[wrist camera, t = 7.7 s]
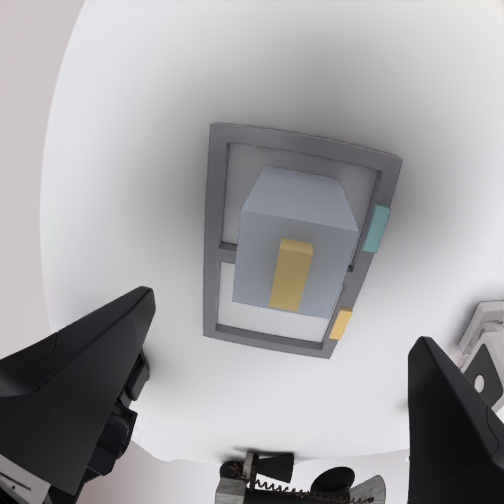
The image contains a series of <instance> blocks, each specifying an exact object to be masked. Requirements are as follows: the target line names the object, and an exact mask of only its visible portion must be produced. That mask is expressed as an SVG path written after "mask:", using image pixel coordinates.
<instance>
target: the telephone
mask: <svg viewBox="0 0 504 504" xmlns="http://www.w3.org/2000/svg"><path fill="white" fill-rule="evenodd" d="M293 465H294V455H293V454H292V455H285V456H278V457H271V458H263V459H259V455H258V454H254V453H253V452H247V454H246V458H245V462H244V463H243V461H241V462H237V461H229V462H226V463H224V464H223V465H222V466H221V467H220V482H219V485H218V487H217V490H216V494H215V504H385V499H386V488H385V483H384V480H383V478H382V477H381V476H380V475H376V476H374V477H373V478H371V479H369V480H367V481H365V482H363V483H361V484H359V485H357V486H355V487H353V488H351V489H350V487H351V486H352V484H353V482H354V479H355V474H354V471H353V470H352V469H351V468H348V467H335V468H332V469H329V470H327V471H325V472H324V473H322V474H321V475H319V476H318V477H317V478H316V479H315V480H314V482H313V484H312V485H311V489H310V492H309V491H308V492H302V491H303V490H300V492H295V488H294V489H293V490H292V491H291V492H285V491H286V490H288V487H286V488H285V490H283V491H282V490H281V485H279V487H278V488H277V489H276V490H274V484H272V485H271V486H270V487H269V488H267V482H264V484H263V485H262V486H260V482H259V480H257V481H256V475H257V473H258V474H261V475H264V476H267V477H270V478H273V479H276V480H279V481H283V482H286V483H290V481H291V477H292V472H293ZM249 481H250V485H249V488H247V484H248V483H249ZM257 483H258V485H259V487H260V488H262V487H263V486H264V485H265V489H270V488H271V487H272V490H273V491H270V490H259V489H255V484H257ZM278 489H279V491H277V490H278Z"/></svg>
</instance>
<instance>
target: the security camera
mask: <svg viewBox="0 0 504 504" xmlns="http://www.w3.org/2000/svg"><path fill="white" fill-rule="evenodd" d="M499 321H501V322H502V323H500V322H499ZM459 347H460V349H461V352H462V354H471V355H470V356H469V358H468V359H467V361H466V363H465V364H464V366H463V367H462V369H461V370H460V371H461V372H462V373H463V374H464V375H465V377H466V378H467V379H468V380H469V381H470V383H471V384H472V385H473V386H474V387H475V389H476V390H477V391H478V392H479V394H480V395H481V396H482V397H483V398H484V400H485V401H486V402H487V404H488V405H489V406H490V407H491V409H492V410H493V411H494V412H495V414H496V415H497V416H498V417H499V419H500V420H501V421H502V422H503V423H504V301H489V302H480V303H479V304H478V306H477V308H476V311H475V313H474V315H473V317H472V319H471V321H470V323H469V325H468V327H467V329H466V331H465V333H464V335H463V337H462V339H461V341H460V342H459Z"/></svg>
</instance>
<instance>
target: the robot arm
mask: <svg viewBox="0 0 504 504" xmlns="http://www.w3.org/2000/svg"><path fill="white" fill-rule="evenodd" d="M155 310H156V305H155V298H154V292H153V289H151V288H149V287H145V286H140V287H138V288H136V289H134V290H132V291H130V292H128V293H127V294H125V295H123V296H121V297H119V298H117V299H115V300H114V301H112V302H110V303H108V304H106V305H104V306H103V307H101V308H99V309H97V310H95V311H93V312H92V313H90V314H88V315H86V316H84V317H82V318H81V319H79V320H77V321H75V322H73V323H72V324H70V325H68V326H66V327H64V328H63V329H61V330H59V331H58V332H55V333H54V334H52V335H50V336H48V337H47V338H45V339H43V340H41V341H39V342H37V343H35V344H33V345H31V346H29V347H27V348H25V349H23V350H21V351H18V352H16V353H14V354H11V355H9V356H7V357H5V358H3V359H0V504H76V502H77V499H78V497H79V495H80V493H81V490H82V488H83V486H84V484H85V483H86V482H88V481H90V480H92V479H94V478H96V477H98V476H100V475H102V476H105V475H107V474H108V473H110V472H111V471H112V469H113V466H114V464H115V461H116V460H117V459H119V458H120V457H121V456H122V455H123V454H124V452H125V451H126V449H127V447H128V445H129V442H130V439H131V435H132V432H133V428H134V425H135V421H136V418H137V415H138V413H136V412H135V411H132V410H130V409H129V406H130V404H131V402H132V400H133V401H136V400H137V399H138V397H139V395H140V392H141V390H142V388H143V386H144V384H145V382H146V381H148V379H149V373H148V370H147V366H146V363H145V360H144V356H143V353H142V349H141V348H142V346H143V343H144V340H145V338H146V335H147V332H148V330H149V327H150V324H151V322H152V319H153V317H154V314H155ZM408 408H409V431H410V469H409V490H408V501H407V504H504V423H503V422H502V421H501V420H500V419H499V417H498V416H497V415H496V414H495V412H494V411H493V410H492V409H491V407H490V406H489V405H488V404H487V402H486V401H485V400H484V398H483V397H482V396H481V395H480V394H479V392H478V391H477V390H476V389H475V387H474V386H473V385H472V384H471V383H470V381H469V380H468V379H467V378H466V377H465V375H464V374H463V373H462V372H461V371H460V369H459V368H458V367H457V366H456V365H455V364H454V363H453V361H452V360H451V359H450V358H449V357H448V356H447V355H446V353H445V352H444V351H443V350H442V349H441V348H440V347H439V346H438V344H437V343H436V342H435V341H434V340H433V339H432V338H431V337H426V336H421V337H419V338H418V340H417V341H416V343H415V344H414V346H413V347H412V349H411V350H410V352H409V355H408Z"/></svg>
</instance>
